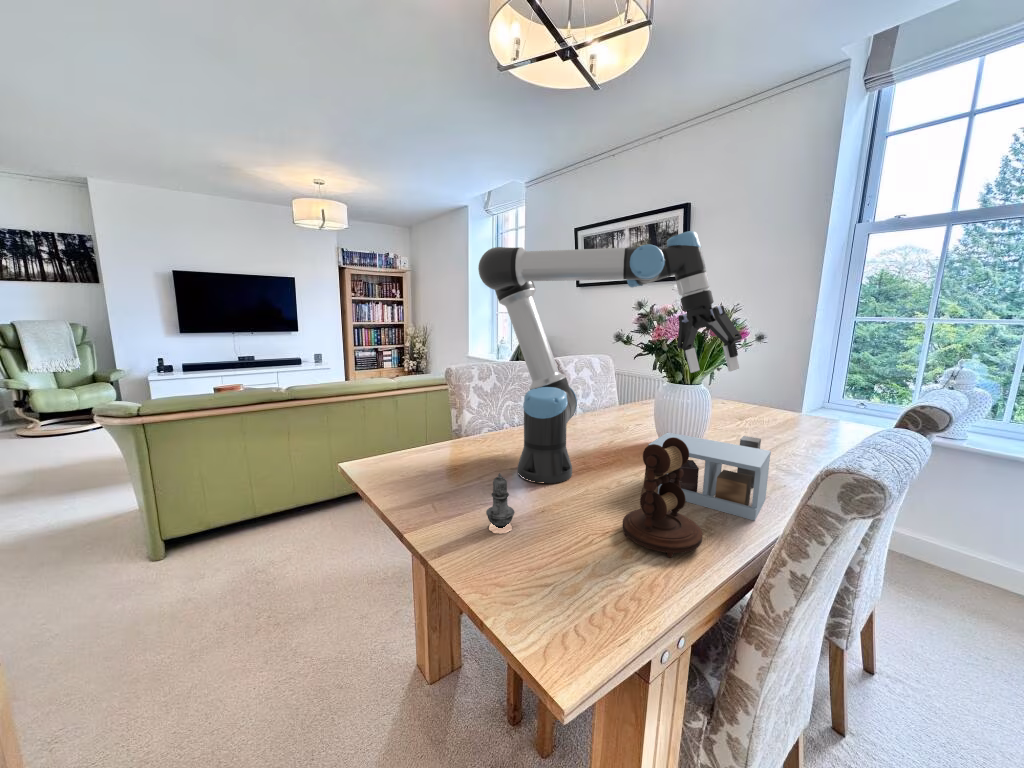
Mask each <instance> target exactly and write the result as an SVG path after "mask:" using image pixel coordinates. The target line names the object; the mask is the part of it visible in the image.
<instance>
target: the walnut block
mask: <svg viewBox="0 0 1024 768" xmlns="http://www.w3.org/2000/svg"><path fill="white" fill-rule="evenodd" d="M761 442H762V439H761V438H758V437H753V436H746V435H743V436H742V437H741V438H740V440H739V445H741V446H746V447H752V448H757V449H761V444H762V443H761ZM754 479H755V471H753V470H748V469H743V468H738V467H737V470H736V471H732V470H728V469H723V470H721V473H720V474H719V475H718V477H717V483H716V494H715V495H714V497H716V498H720V499H724V500H728V501H731V502H735V503H739V504H743V505H747V506H750V500H751V491H752V489H754Z"/></svg>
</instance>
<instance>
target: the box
mask: <svg viewBox="0 0 1024 768" xmlns="http://www.w3.org/2000/svg"><path fill="white" fill-rule="evenodd" d="M681 469H682V470H683V476H682V478H681V480H679V482H680V486H681V488H682V489H685V490H689V491H693V492H697V493H698V487H699V486H698V485H699V484H698V483H699V472H700V468H699V466H698V465H697V464H696V462H695V461H694V460H693V459H688V461H687V462H686V463H685V464H684V465H682V467H681ZM668 482H672V483H674V479H671V480H670V481H668Z"/></svg>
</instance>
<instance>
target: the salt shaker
mask: <svg viewBox="0 0 1024 768" xmlns="http://www.w3.org/2000/svg"><path fill="white" fill-rule="evenodd" d="M509 496H510V494H509V492H508V480H507V479H506V478H505V477H503V476H502V474H501V473H498V476H497V477H495V478H494V479H493V481H492V493H491V497H492V506H491V507H488V509H487V510H486V512H485V514H486V516H487V519H488V521H489V523H490V524H491V523H492V524H493V525H495V526H496V527H498V528H503V527H505V526H506V525H507V524H509V523H511V522H512V520H513V517H514V515H515V509H514V508H513V507H511V506H509V504H508V498H509Z"/></svg>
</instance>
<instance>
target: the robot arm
mask: <svg viewBox="0 0 1024 768" xmlns="http://www.w3.org/2000/svg"><path fill="white" fill-rule="evenodd" d="M477 268H478V275H479V278H480V280H481V281H482V283H483V284H484V285H485V287H488V288H489V289H491V290H494V292H495V295H496V297H497V298H496V299H498V302H499V304H500V305H502V306H504V307H505V308H506V310H507V314H508V317H509V319H510V322H511V325H512V327H513V331H514V332H515V336H516V339H517V342H518V345H519V348H520V350H521V353H522V356H523V359H524V361H525V365H526V367H527V370H528V373H529V376H530V378H531V384H530V387H529V390H528V391H527V392H526V393H525V394H524V398H523V403H522V404H523V405H522V408H523V448H522V451H521V455H520V457H519V461H518V463H517V474H518V473H519V474H520V475H521V476H522V477H524V478H525V479H528V480H531V481H535V482H544V483H554V484H557V483H556V482H560V483H563V482H566V481H568V480H570V478H572V476H573V465H572V462H571V459H570V455H569V453H568V449H567V424H568V422H569V421H570V420H571V418H573V417H574V415H575V413H576V410H577V407H578V399H577V394H576V393H575V391H574V390H573V389H572V388H571V387H570V385H569V382H568V378H567V376H566V375H565V374H564V373H561V372H560V371H559V369H558V366H557V365H558V364H557V362H556V359H555V357H554V354H553V351H552V348H551V345H550V342H549V339H548V337H547V334H546V331H545V328H544V325H543V322H542V319H541V316H540V313H539V311H538V307H537V305H536V303H535V299H534V295H535V293H536V286H535V283H534V282H561V281H562V282H565V281H567V282H568V281H570V282H572V281H573V282H574V281H612V280H613V281H615V280H616V281H617V280H618V281H619V280H620V281H622V280H626V282H627V285H628V287H629V288H636V287H642V286H644V285H647V284H650V283H654V282H656V281H661V280H662V279H666V278H669V277H672V276H674V277H675V283H676V287H677V291H678V295H679V296H681V297H680V303H681V307H682V311H685V312H686V313H683V314H680V315H678V332H677V333H678V335H677V344H676V348H677V349H681V350H683V353H684V356H685V360H686V361H687V365H688V368H689V372H690V374H692V373H693V374H694V373H695V372H696V373H697V372H698V371H701V369H700V364H699V361H698V355H697V353H696V352H697V351H696V349H695V346H694V342H695V339H696V336H697V334H698V331H699V329H701V328H703V329H704V328H707V329H710V331H711V332H712V333H713V334H714V335H715V336H716V337H717V338H718V339H719V340H720V341H721V342H722V343H723V346H722V350H723V354H724V357H725V361H726V362H725V363H726V365H727V370H728V372H733V371H737V370H738V369H739V370H740V364H739V361H738V356H739V354H738V348H737V345H736V344H737V342H739V341H740V340H742V339H743V338H742V337H743V336H742V334H740V331H739V330H738V329H737V328H736V327H735V325H734V323H733V322H732V320H731V319H730V318H729V316H728V315H727V313H726V310H725V307H724V305H722V304H720V305H718V306H714V307H713V303H714V297H713V292H712V290H711V289H708V288H710V287H711V284H710V282H709V280H710V279H709V278H708V273H707V272H708V271H707V268H706V264H705V259H704V255H703V250H702V246H701V243H700V240H699V236H698V233H697V232H696V231H694V230H689V231H684V232H682V233H681V232H680V233H678V234H675V235H673V236H671V237H669V238H668V239H667V240H666V247H664V248H661V249H660V248H659V246H657V245H653V244H650V243H649V244H643V245H640V246H637V247H635V246H634V247H631V246H630V247H608V248H605V247H602V248H584V249H583V248H582V249H581V248H579V249H554V250H553V249H552V250H550V249H549V250H530V251H529V250H527V251H526V250H525V248H523V247H505V246H496V247H492V248H489V249H488V250H487V251H486V252H484V253H483V255H482V256H481V258H480V260H479V262H478V267H477ZM567 479H568V480H567ZM565 480H566V481H565ZM562 481H563V482H562Z"/></svg>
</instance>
